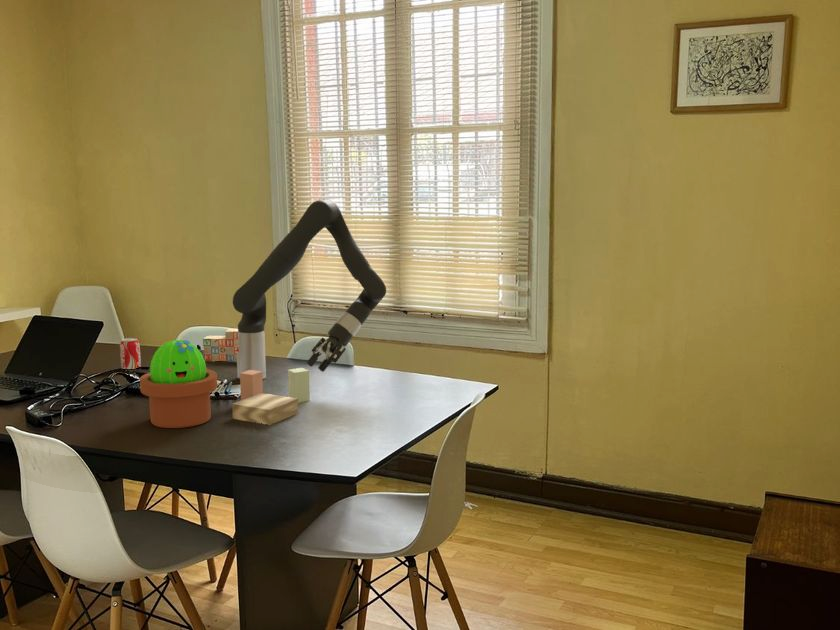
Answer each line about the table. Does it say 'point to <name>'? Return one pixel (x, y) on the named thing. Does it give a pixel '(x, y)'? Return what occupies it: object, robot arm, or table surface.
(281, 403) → the birch plinth block
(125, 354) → the soda can
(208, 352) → the stack of blocks
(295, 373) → the sage-green block
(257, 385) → the clay-red block
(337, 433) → the table surface
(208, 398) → the potted cactus
